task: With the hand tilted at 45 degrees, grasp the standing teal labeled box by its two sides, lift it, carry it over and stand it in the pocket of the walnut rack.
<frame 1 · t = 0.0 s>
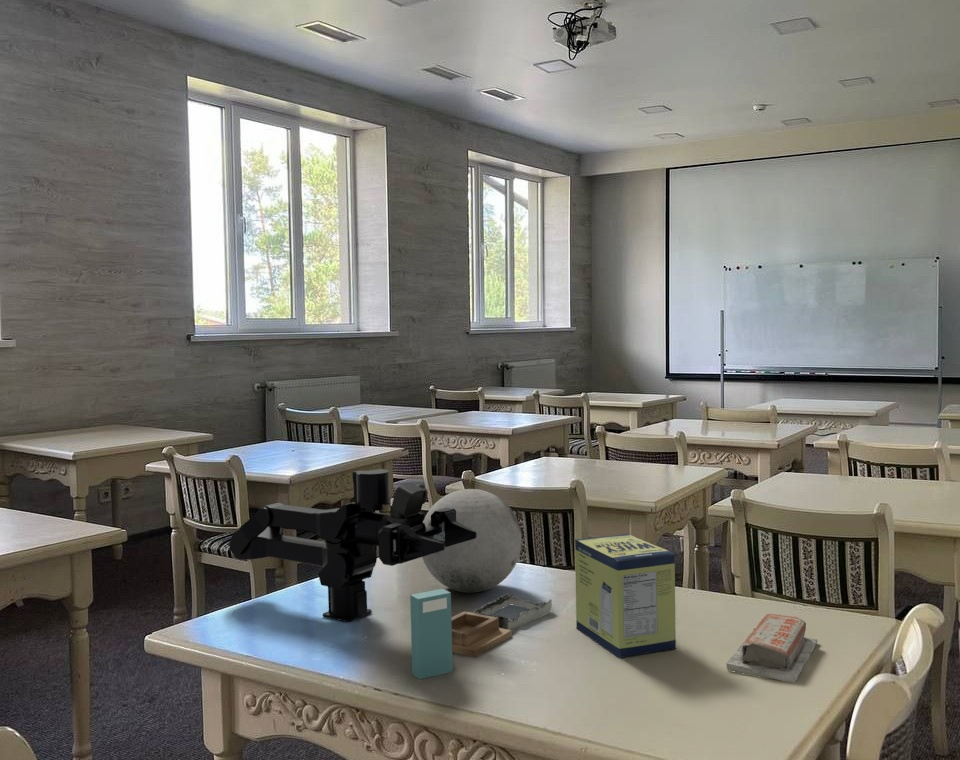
hand: (460, 540, 146), 17 cm above the table, tool horizontal, fingers open, 9 cm apart
teal labeled box: (432, 672, 133), on the table
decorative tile: (510, 620, 159), on the table
protein box: (624, 639, 146), on the table
moon model: (471, 591, 175), on the table
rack: (465, 640, 147), on the table
packaged product: (773, 661, 137), on the table
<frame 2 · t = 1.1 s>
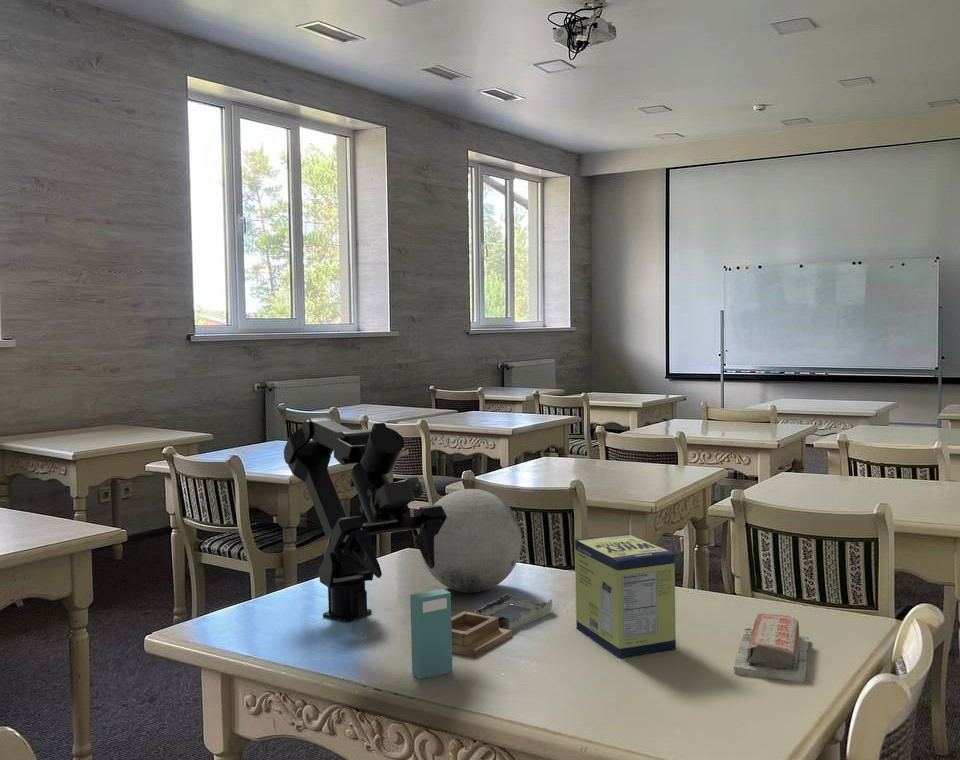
hand: (406, 571, 139), 14 cm above the table, tool tilted 45°, fingers open, 9 cm apart
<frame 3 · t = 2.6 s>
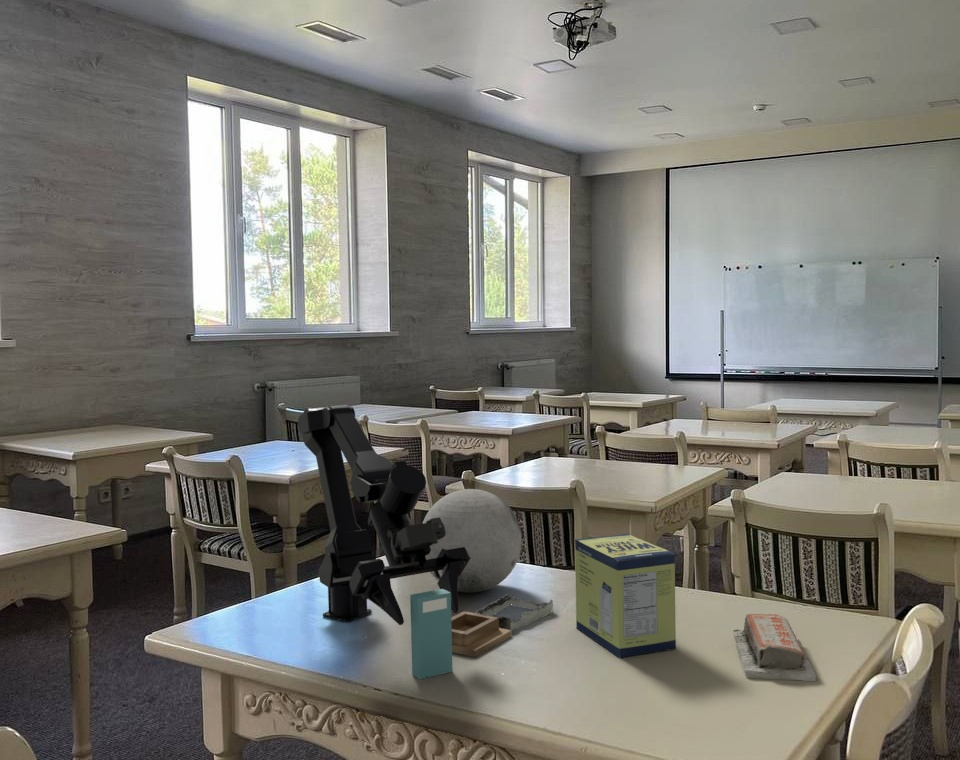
hand: (429, 617, 133), 8 cm above the table, tool tilted 45°, fingers open, 9 cm apart
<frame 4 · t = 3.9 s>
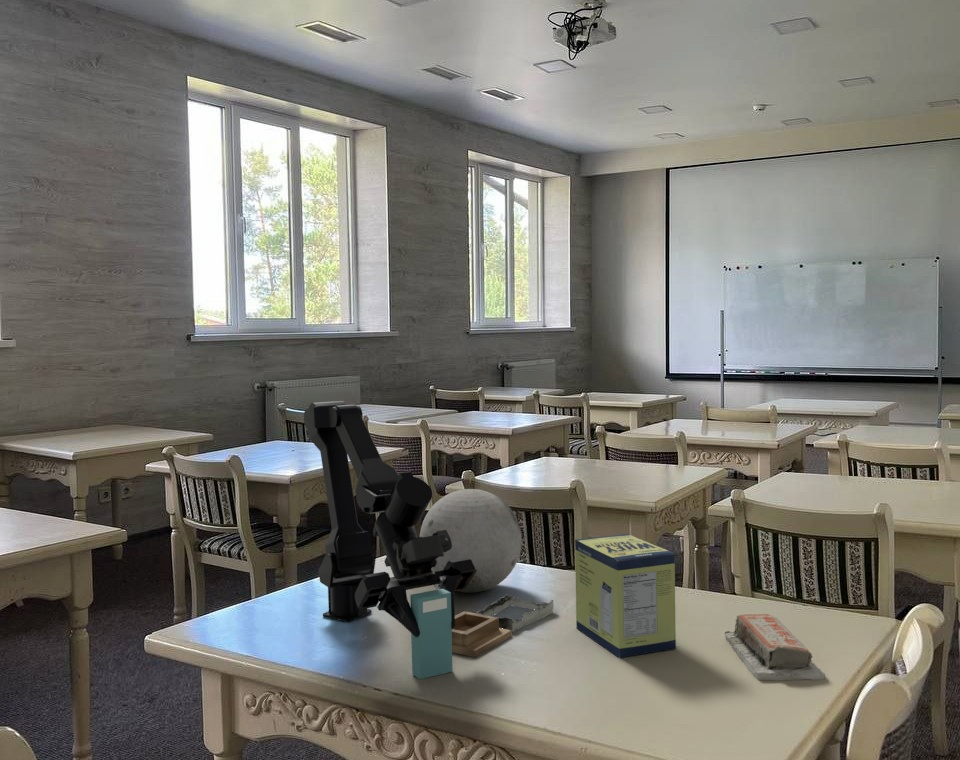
hand: (435, 631, 132), 7 cm above the table, tool tilted 45°, fingers closed on teal labeled box, 5 cm apart
teal labeled box: (432, 672, 133), on the table, touching gripper
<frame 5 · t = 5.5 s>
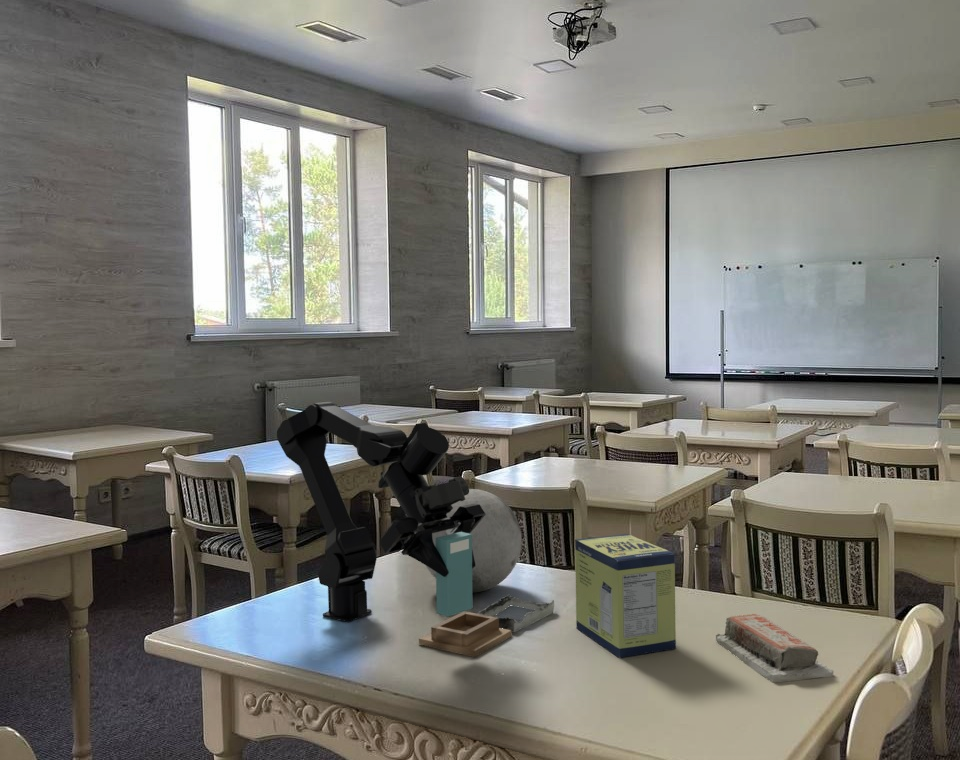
hand: (460, 571, 140), 13 cm above the table, tool tilted 45°, fingers closed on teal labeled box, 5 cm apart
teal labeled box: (454, 610, 141), point 7 cm above the table, touching gripper
when the fingers open (8 cm above the table, at t = 7.6 s): teal labeled box stays where it is, resting on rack.
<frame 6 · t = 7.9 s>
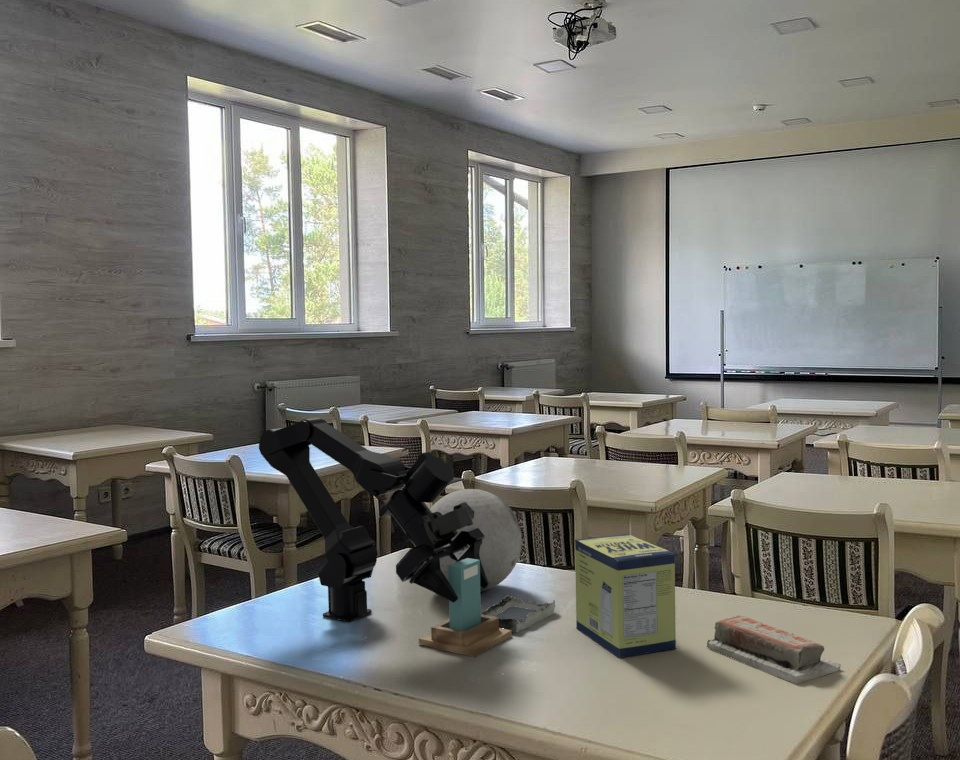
hand: (471, 593, 146), 8 cm above the table, tool tilted 45°, fingers open, 9 cm apart
teal labeled box: (465, 634, 147), point 1 cm above the table, touching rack
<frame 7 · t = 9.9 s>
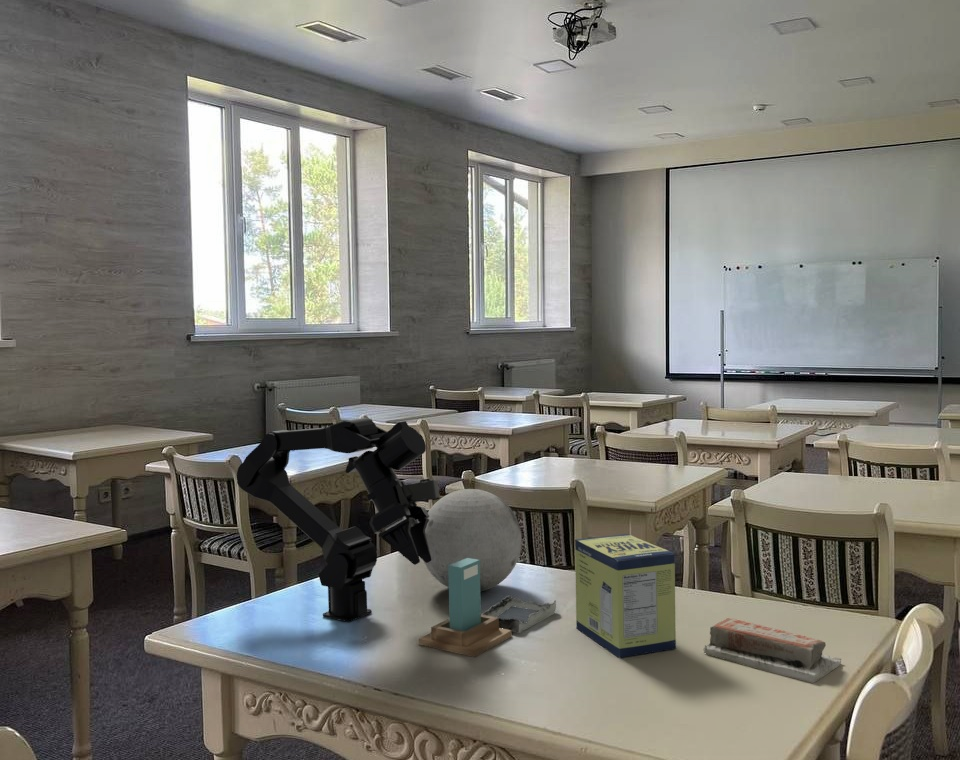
hand: (423, 562, 152), 12 cm above the table, tool tilted 35°, fingers open, 9 cm apart
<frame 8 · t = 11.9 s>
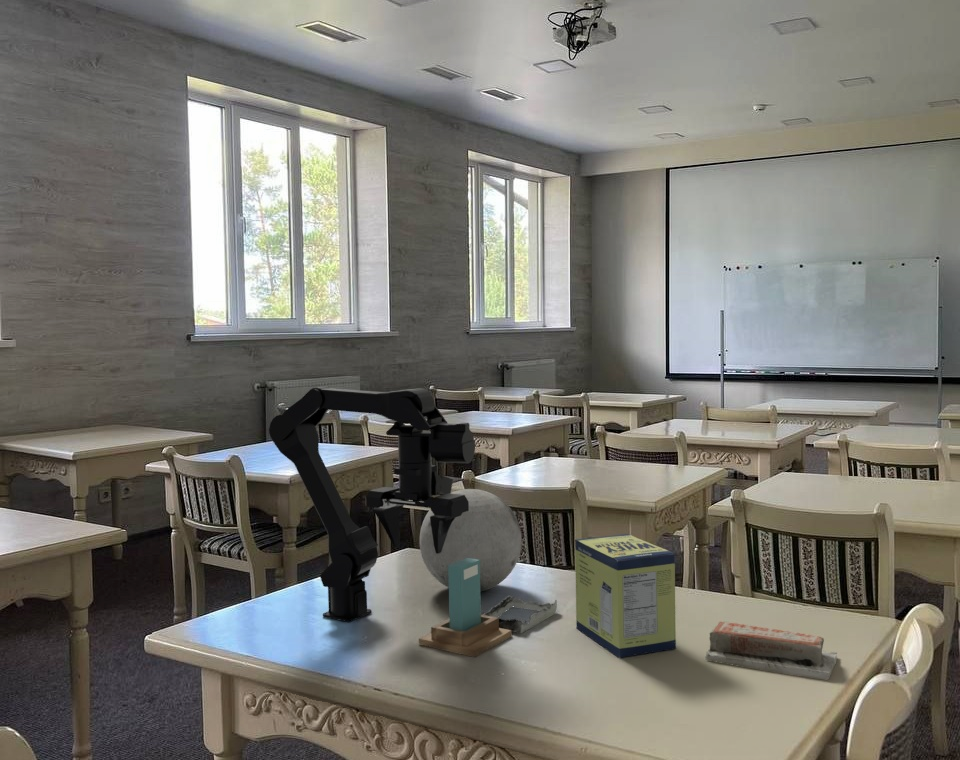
hand: (417, 549, 155), 13 cm above the table, tool pointing down, fingers open, 9 cm apart
at the end: teal labeled box 0.0 cm off-centre on the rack, point 1.0 cm above the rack's base; teal labeled box tilted 0°; the gripper is holding nothing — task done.
